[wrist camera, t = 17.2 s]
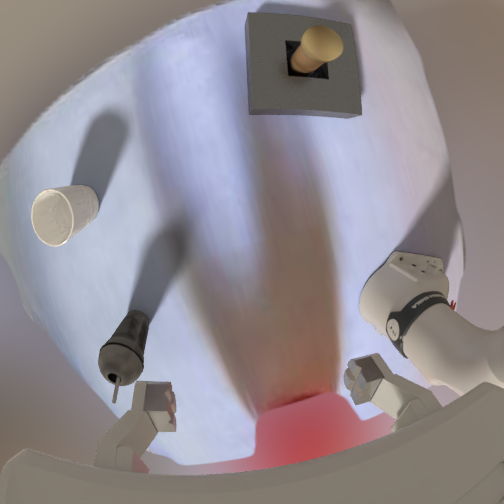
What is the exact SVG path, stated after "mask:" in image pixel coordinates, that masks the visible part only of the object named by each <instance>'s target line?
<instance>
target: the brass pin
mask: <svg viewBox="0 0 504 504" xmlns="http://www.w3.org/2000/svg"><path fill="white" fill-rule="evenodd" d="M342 52H343V42H342V39H341V38H340V36H339V35H338V34H337V33H336V32H335V31H334V30H332V29H330V28H328V27H326V26H321V25H316V26H312V27H310V28H308V29H307V30H306V32H305V33H304V34H303V35H302V37H301V41H300V46H299V47H298V48H297V49H296V51H295V52H294V53H293V55H292V56H291V57H290V59H289V60H288V61H287V68H288V75H289V76H296V77H308V76H309V75H310V74H311V73H312V72H314V71H315V70H316V69H317V68H318V67H320V66H321V65H322V64H323V63H328V62H331V61H333V60H335V59H336V58H337V57H339V56H340V55H341V53H342Z"/></svg>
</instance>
